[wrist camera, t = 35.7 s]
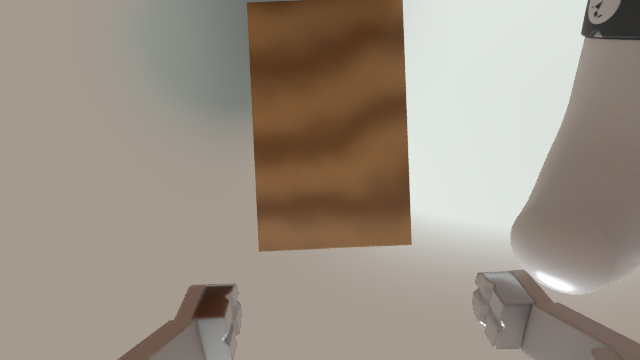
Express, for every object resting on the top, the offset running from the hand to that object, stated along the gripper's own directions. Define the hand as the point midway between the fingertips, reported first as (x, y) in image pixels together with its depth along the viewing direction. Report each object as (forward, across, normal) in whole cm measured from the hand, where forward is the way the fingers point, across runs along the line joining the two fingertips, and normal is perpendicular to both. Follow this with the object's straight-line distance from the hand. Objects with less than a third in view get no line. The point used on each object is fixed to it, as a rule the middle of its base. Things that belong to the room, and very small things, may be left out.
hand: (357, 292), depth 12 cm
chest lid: (+20, 0, -1) cm, 20 cm away
